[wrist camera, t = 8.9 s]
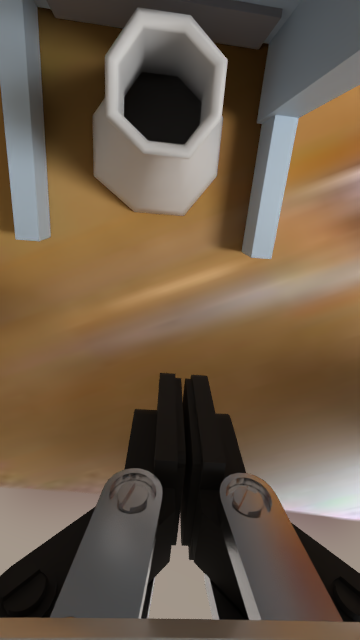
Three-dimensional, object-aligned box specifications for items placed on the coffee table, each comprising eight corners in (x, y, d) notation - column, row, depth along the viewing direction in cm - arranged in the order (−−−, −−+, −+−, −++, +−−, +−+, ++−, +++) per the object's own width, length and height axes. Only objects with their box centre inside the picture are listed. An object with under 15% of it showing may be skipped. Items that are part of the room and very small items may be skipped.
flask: (190, 235, 19) (229, 271, 10) (74, 185, 17) (-13, 170, 8) (244, 109, 17) (359, -1, 8) (115, 37, 15) (61, -213, 6)
